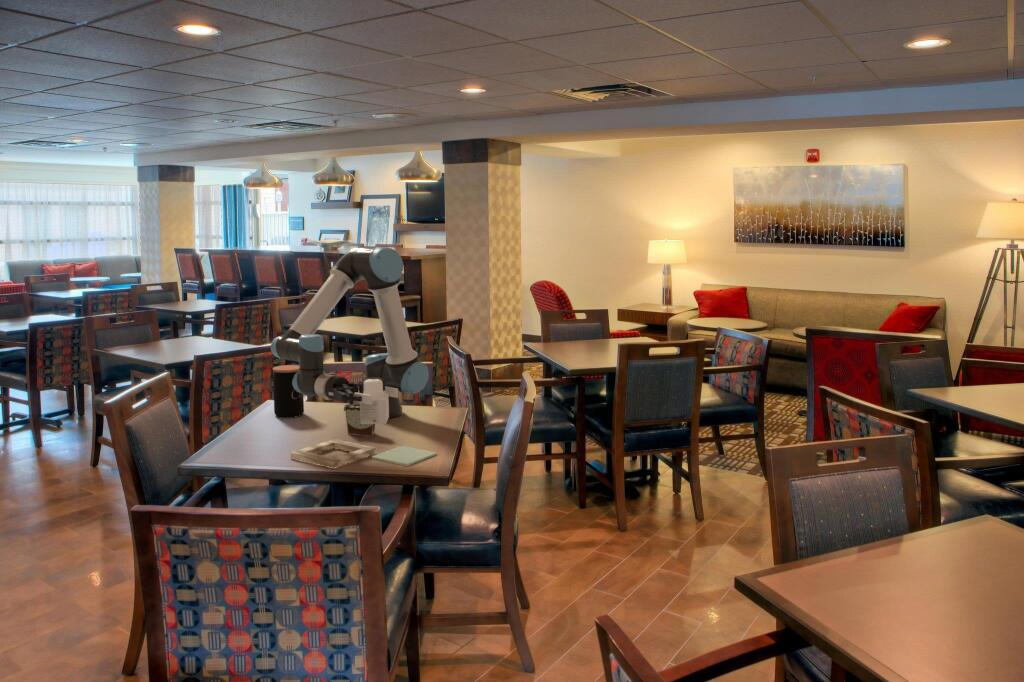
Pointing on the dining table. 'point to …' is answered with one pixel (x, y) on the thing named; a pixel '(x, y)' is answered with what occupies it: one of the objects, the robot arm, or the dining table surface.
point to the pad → (404, 455)
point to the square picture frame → (355, 454)
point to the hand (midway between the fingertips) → (384, 396)
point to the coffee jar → (286, 392)
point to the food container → (357, 421)
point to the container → (375, 402)
